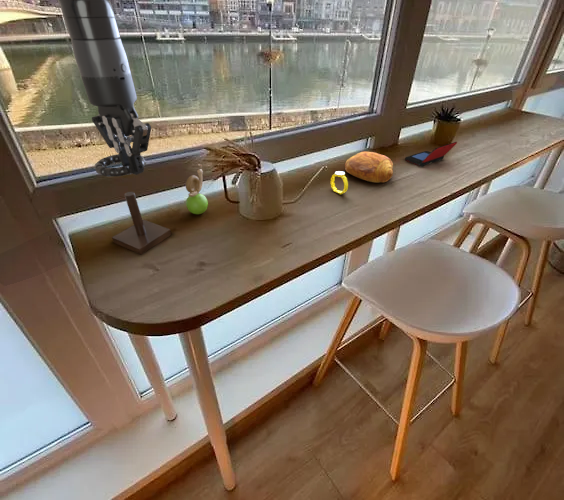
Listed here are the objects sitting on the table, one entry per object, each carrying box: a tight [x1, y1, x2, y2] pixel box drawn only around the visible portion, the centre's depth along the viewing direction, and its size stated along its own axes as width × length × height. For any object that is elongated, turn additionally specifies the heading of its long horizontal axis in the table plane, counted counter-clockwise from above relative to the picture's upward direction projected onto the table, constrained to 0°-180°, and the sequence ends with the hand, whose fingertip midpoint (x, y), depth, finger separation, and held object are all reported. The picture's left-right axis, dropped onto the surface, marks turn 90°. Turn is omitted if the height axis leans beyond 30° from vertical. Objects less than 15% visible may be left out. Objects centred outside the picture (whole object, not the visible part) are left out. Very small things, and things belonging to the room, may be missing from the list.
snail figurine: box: [185, 163, 209, 215], centre depth 81 cm, size 5×6×12 cm
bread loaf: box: [344, 150, 394, 183], centre depth 102 cm, size 14×16×8 cm
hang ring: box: [94, 153, 147, 177], centre depth 64 cm, size 9×9×2 cm
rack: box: [111, 191, 172, 255], centre depth 72 cm, size 9×9×12 cm
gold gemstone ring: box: [329, 170, 349, 195], centre depth 92 cm, size 6×3×6 cm, turn 35°
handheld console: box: [404, 141, 458, 167], centre depth 111 cm, size 12×11×7 cm
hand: (134, 171), depth 63 cm, fingers closed on hang ring, 1 cm apart
